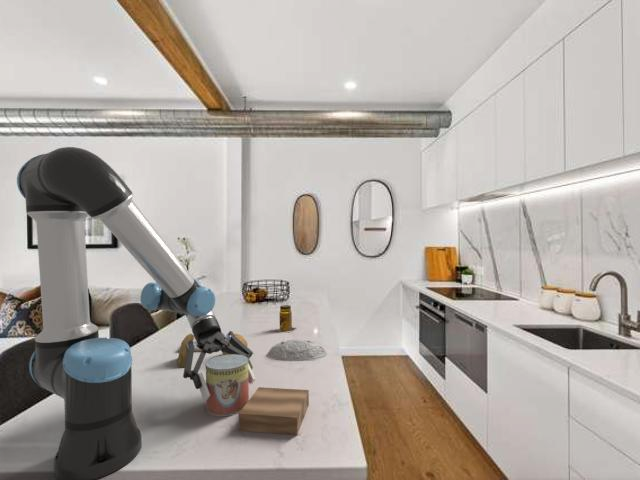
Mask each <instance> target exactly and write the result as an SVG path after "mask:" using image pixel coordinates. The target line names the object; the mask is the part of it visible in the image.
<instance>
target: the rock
mask: <svg viewBox="0 0 640 480" xmlns="http://www.w3.org/2000/svg"><path fill="white" fill-rule="evenodd" d="M189 340H192V341H193V340H194V335H193V333H189V334H187V335H186V336H185V337H184V339H182V341H181V344H180V346H179V349H178V357H177V360H176V363H177V365H178V367H179V368H185V363H186V357H187V349H186V345H187V344H188V342H189Z"/></svg>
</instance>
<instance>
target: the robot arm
mask: <svg viewBox="0 0 640 480" xmlns="http://www.w3.org/2000/svg"><path fill="white" fill-rule="evenodd" d="M16 184H17V185H16V186H17V188H18V191H19V193H20V194H21V196H22V197H24V200H25V207H26V208H25V209H26V210H25V211H26V212H25V213H26V215H28V216H29V217H30V218H31V219H32V220H34V221H35V223H36V225H35V226H36V236H37V237H36V238H37V250H38V252H37V253H38V267H39V283H40V297H41V312H42V313H41V314H42V330H41V331H40V333H38V334H37V335H36V337H35V338H34V344H35V346H34V348H35V350H34V352H33V353H32V355H31V357H30V360H29V364H28V365H29V366H28V367H29V368H28V369H29V374H30V376H31V378H32V380H33V381H34V382H35V383H36V384H37V385H38V386H39V387H40V388H42V389H43V390H46V391H48V392H51V393H52V394H54V395H56V396H58V397H59V398H62V399H63V400H64V401H63V402H64V405H63V406H64V431H63V433H62V437H61V440H60V442H59V445H58V451H57V452H56V454H55V456H54V459H53V474H54V477H55V478H56V479H57V480H96V479H99V478H102V477H105V476H107V475H110V474H112V473H114V472H116V471H118V470H120V469H122V468H123V467H124V466H126V465H128V464H129V463H131V462H132V460H134V459H135V458H136V457H137V456H138V455H139V453H140V451H141V450H142V447H143V446H142V445H143V444H142V442H143V441H142V432H141V430H140V429H139V428H138V425H137V422H136V419H135V416H134V414H133V409H132V407H133V398H132V397H133V391H132V390H133V387H132V386H133V385H132V384H133V383H132V381H133V380H132V379H133V377H132V373H133V372H132V365H133V356H132V352H131V347H130V345H129V343H127V342H126V341H125V340H124V339H120V338H115V337H110V338H107V337H100V334H99V327H98V325H96V324H94V323H93V322H91V318H90V317H91V316H90V301H89V300H90V299H89V298H90V297H89V283H88V282H89V281H88V269H87V268H88V267H87V265H88V263H87V248H86V246H87V245H86V234H85V232H86V231H85V220H86V219H87V218H89V217H90V218H91V219H98V220H100V221H101V223H102V224H104V226H105V227H106V228H107V229H108V230H109V231H110V233H111V234H112V235H113V236H114V237H115V238H116V239H117V241H118V242H120V243H121V245H122V246H123V247H124V248H125V249H126V250H127V252H128V253H129V254H130V255H131V256H132V257H133V259H135V260H136V261H137V263H138V264H139V265H140V266H141V267H142V268H143V270H144V271H146V273H147V274H148V275H149V277H150V278H152V279H153V280H154V282H148V283H146V284H145V285H144V287H143V288H142V290H141V292H140V303H141V306H142V307H143V308H144V309H146V310H153V311H157V310H158V311H165V312H173V313H179V314H183V315H185V317H186V318H187V322H188V324H189V326H190V329H191V332H192V335H194V337H195V340H196V341H194V342H193V341H192V340H189V342H188V344H187V345H186V349H187V357H186V363H185V367H183V369H184V370H183V375H182V376H183V378H184V379H188V378H189V379H190V380H191V381H192V383H193V385H194V386H195V389H196V390H199V391H200V394H201V397H202V400H203V402H206V401H207V400H208V398H209V397H210V393H209V391H208V388H207V385H206V379H205V378H204V375H203V373H202V372H199V371H200V369H201V366H202V364H203V361H204V359H205V357H206V355H207V354H208V355H211V354H214V353H219V352H221V353H222V352H226V353H228V354H239V355H244V356H246V357H248V359H249V361H248V379H249V385H252V384H253V383H254V382H255V380H256V376H255V374H254V372H253V368H254V367H253V364H252V362H251V360H250V358H251V357H252V356H253V354H254V352H253V350H251V349H250V348H249V347H248V345H247V346H245V345H244V344H243V343H242V342H241V341H240V340H239V339H238V338H236V337H235V335H234V334H235V333H234V332H233V331H232V330H229V332H228V333H225V334H224V333H223V331H222V328H221V326H220V324H219V321H218V319H217V318H216V316H217V315H216V314H215V312H214V310H213V309H214V307H215V305H216V294H215V292H214V291H213V290H212V289H211V288H208V287H206V286H203V285H202V283H201V282H200V281H199V279H197V278H195V277H194V276H193V275H192V274H191V272H190V271H188V268H186V266H185V265H184V264H183V262H182V261H181V260H180V258H178V256H177V255H176V254H175V253H174V251H173V250H172V248H170V245H168V244H167V242H166V241H165V240H164V239H163V237H162V236H161V235H160V234H159V232H158V231H157V230H156V228H155V227H154V226H153V224H152V223H151V222H150V220H149V219H148V218H147V217H146V216H145V215H144V213H143V212H142V211H141V210H140V208H139V207H138V205H137V204H136V203H135V202H134V201H133V196H134V194H133V191H132V190H131V189H130V188H129V186H128V185H127V184H126V182H125V181H124V180H123V179H122V178H121V176H120V175H119V174H118V173H117V171H115V169H114V168H112V167H111V166H110V165H109V164H108V163H107V162H106V161H105V160H103V158H101V157H99V156H98V155H96V154H95V153H93V152H91V151H89V150H87V149H85V148H80V147H74V146H67V147H66V146H64V147H60V148H55V149H54V150H52V151H50V152H47V153H43V154H42V153H41V154H37V156H33V157H31V158H30V159H29V160H27V161H25V163H24V164H23V165H22V166H21V168H20V169H19V171H18V173H17V176H16ZM225 339H226V340H227V341H229V342H227V341H225ZM229 343H230V344H231V345H230V344H229ZM223 345H225V347H223ZM196 346H197V347H198V348H200V349H201V350H202V351H200V352H199V356H198V358H197V360H196V363H195V365H194V367H193V369H192V365H193V358H194V353H195V352H194V349H195V348H196Z"/></svg>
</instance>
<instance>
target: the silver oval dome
mask: <svg viewBox="0 0 640 480" xmlns="http://www.w3.org/2000/svg"><path fill="white" fill-rule="evenodd" d="M266 354H267V357H268V358H270V359H272V360H275V361H277V360H278V361H290V362H292V361H293V362H294V361H296V362H308V361H318V360H322V359H324V358H326V357H327V355H328V353H327V351H326V349H325V348H324V346H323V345H322V344H320V343H319V342H316V341H314V340H312V339H311V340H310V339H289V340H283V341H281V342H279V343H275V345H272V346H271V348H269V350H268V352H266Z"/></svg>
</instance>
